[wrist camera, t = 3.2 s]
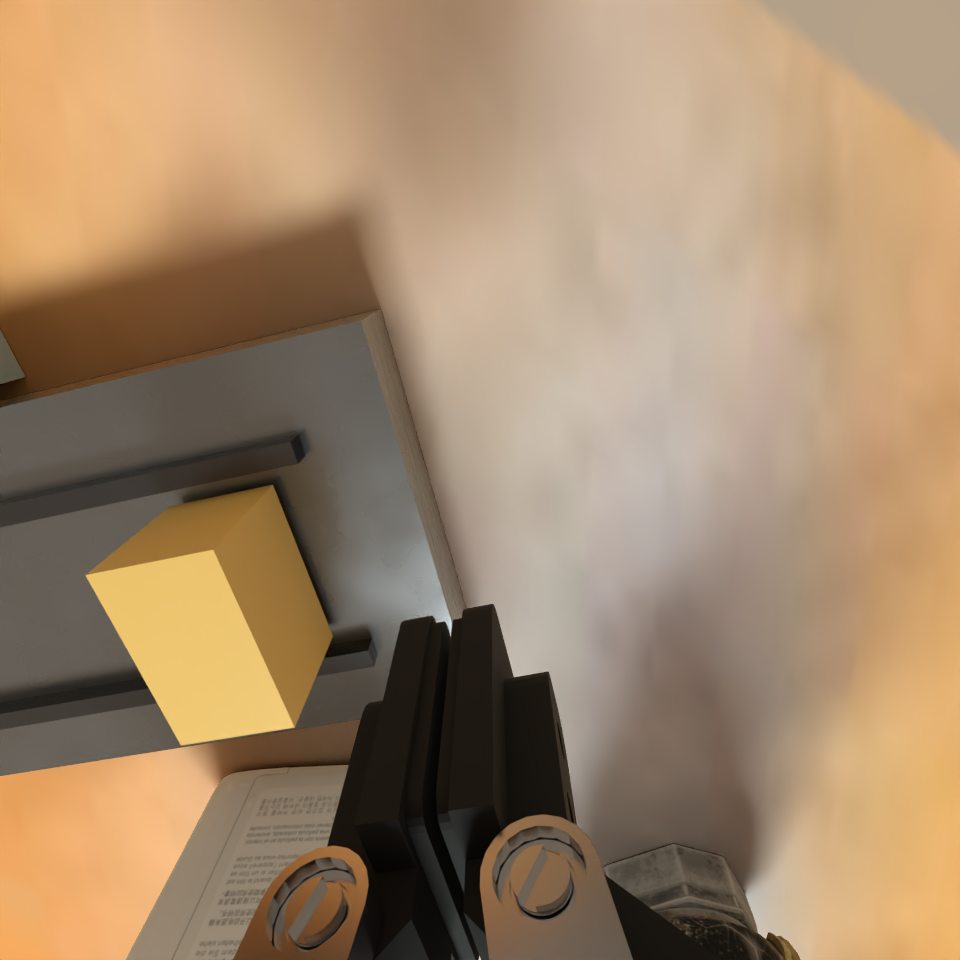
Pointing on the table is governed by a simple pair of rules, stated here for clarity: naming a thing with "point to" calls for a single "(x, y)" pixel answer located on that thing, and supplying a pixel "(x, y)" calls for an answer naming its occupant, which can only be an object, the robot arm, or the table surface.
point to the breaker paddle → (218, 615)
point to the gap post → (8, 363)
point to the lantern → (699, 901)
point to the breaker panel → (200, 475)
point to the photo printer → (238, 859)
